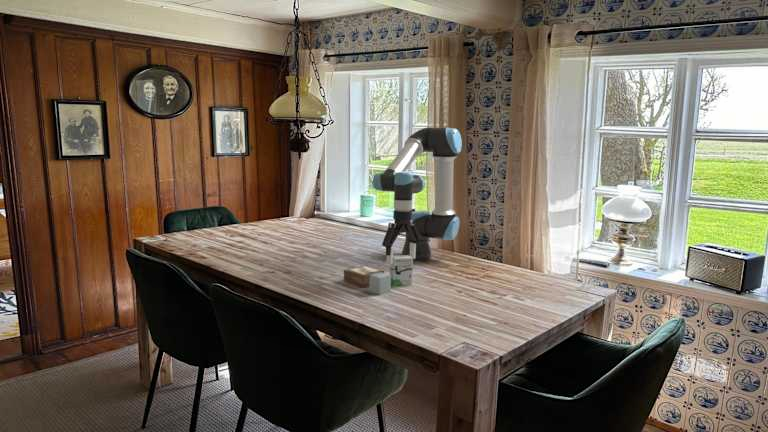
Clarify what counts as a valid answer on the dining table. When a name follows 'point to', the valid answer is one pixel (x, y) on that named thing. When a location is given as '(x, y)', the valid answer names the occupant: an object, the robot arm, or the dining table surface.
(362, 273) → the pedestal
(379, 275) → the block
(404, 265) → the ink box
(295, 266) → the dining table surface
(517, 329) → the dining table surface
